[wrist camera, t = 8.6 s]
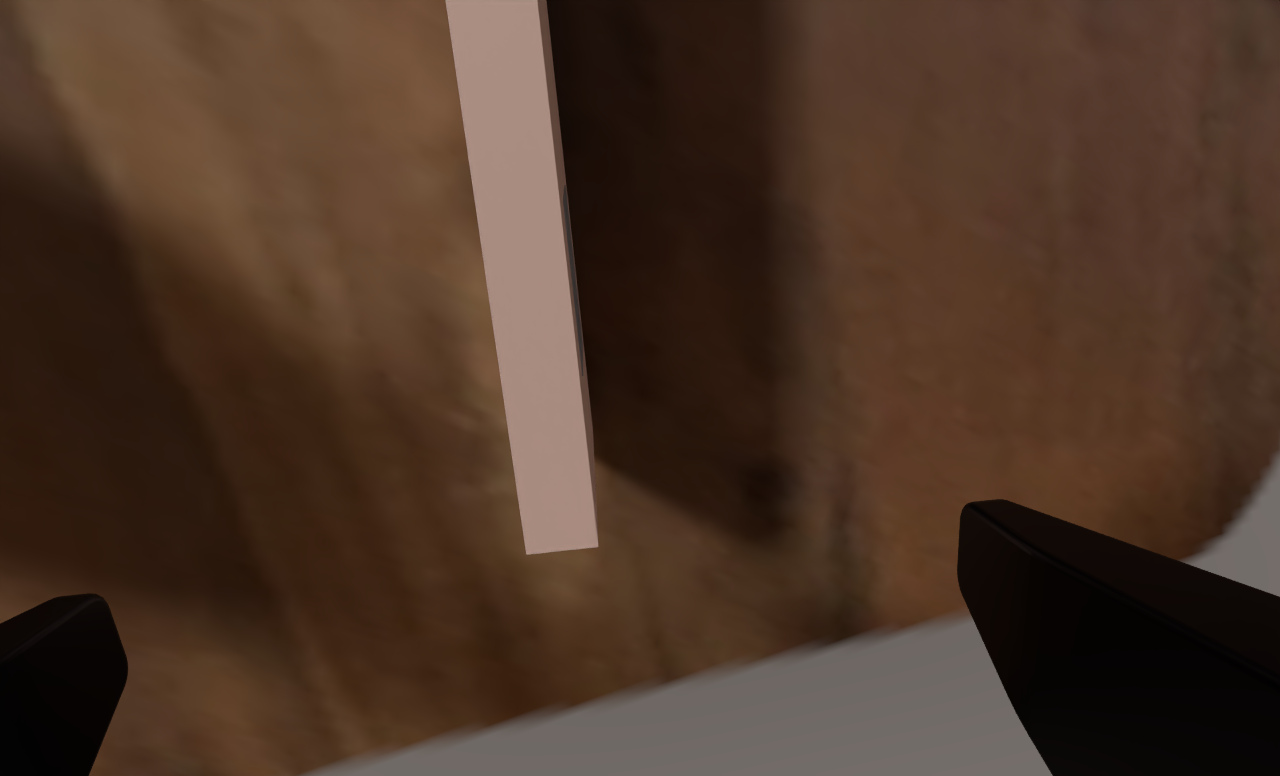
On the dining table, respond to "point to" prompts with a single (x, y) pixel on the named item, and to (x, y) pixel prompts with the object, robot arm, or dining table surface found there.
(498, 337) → the pink plank
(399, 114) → the dining table surface
